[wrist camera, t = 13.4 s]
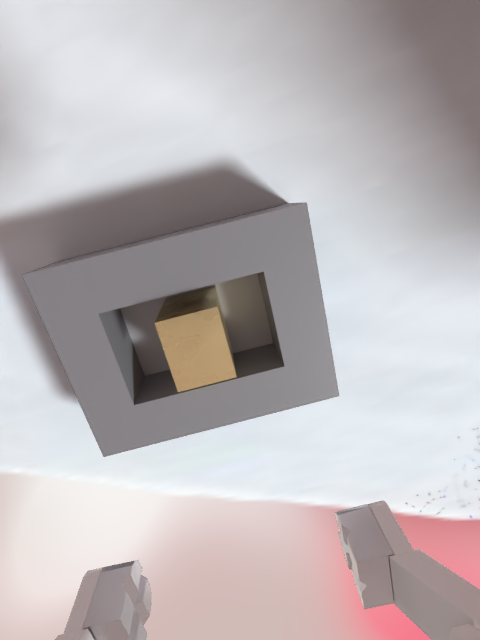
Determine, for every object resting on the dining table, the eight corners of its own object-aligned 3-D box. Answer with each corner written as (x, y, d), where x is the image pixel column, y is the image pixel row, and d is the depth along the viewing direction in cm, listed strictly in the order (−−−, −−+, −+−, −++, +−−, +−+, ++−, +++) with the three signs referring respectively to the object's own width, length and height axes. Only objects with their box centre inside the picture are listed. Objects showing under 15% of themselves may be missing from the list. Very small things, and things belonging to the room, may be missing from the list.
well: (288, 203, 26) (306, 202, 22) (319, 366, 31) (339, 396, 26) (55, 262, 26) (21, 275, 21) (119, 418, 31) (103, 456, 26)
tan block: (215, 285, 27) (217, 306, 22) (231, 343, 29) (236, 377, 23) (165, 298, 27) (154, 322, 22) (183, 355, 29) (177, 392, 23)
